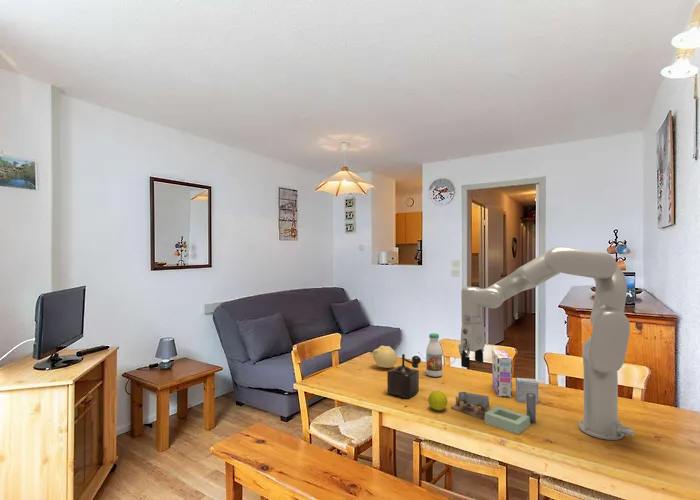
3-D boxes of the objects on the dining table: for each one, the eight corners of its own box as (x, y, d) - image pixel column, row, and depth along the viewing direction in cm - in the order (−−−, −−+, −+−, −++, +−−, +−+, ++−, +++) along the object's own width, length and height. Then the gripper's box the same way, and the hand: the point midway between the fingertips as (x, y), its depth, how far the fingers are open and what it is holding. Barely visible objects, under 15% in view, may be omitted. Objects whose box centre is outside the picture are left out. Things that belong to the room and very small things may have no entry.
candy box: (512, 397, 157) (512, 358, 157) (497, 396, 159) (497, 357, 158) (505, 386, 171) (505, 349, 171) (492, 385, 172) (491, 349, 172)
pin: (537, 422, 135) (537, 394, 135) (533, 425, 133) (533, 396, 133) (528, 419, 137) (528, 392, 137) (525, 422, 135) (524, 394, 135)
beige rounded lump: (385, 361, 209) (385, 342, 209) (401, 367, 199) (401, 346, 199) (369, 365, 202) (369, 345, 202) (385, 371, 192) (385, 350, 192)
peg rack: (494, 414, 142) (494, 404, 142) (484, 420, 137) (484, 410, 137) (460, 403, 152) (460, 394, 152) (451, 408, 147) (451, 399, 147)
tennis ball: (438, 415, 142) (438, 396, 142) (424, 408, 147) (424, 390, 147) (451, 410, 146) (450, 392, 146) (436, 404, 151) (436, 386, 151)
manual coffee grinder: (385, 393, 163) (385, 351, 163) (398, 386, 172) (398, 346, 172) (418, 402, 153) (418, 358, 153) (430, 394, 162) (430, 352, 162)
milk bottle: (423, 372, 190) (423, 332, 190) (437, 371, 192) (436, 331, 192) (431, 377, 182) (431, 336, 182) (445, 376, 185) (445, 335, 185)
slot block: (529, 426, 132) (529, 416, 132) (518, 435, 126) (518, 424, 126) (496, 415, 141) (496, 406, 141) (484, 423, 135) (484, 413, 135)
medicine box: (536, 400, 155) (536, 379, 155) (538, 404, 151) (538, 382, 151) (515, 398, 157) (515, 377, 157) (517, 402, 153) (517, 381, 153)
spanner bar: (490, 405, 141) (489, 395, 141) (485, 408, 138) (484, 398, 139) (462, 400, 149) (461, 391, 150) (457, 402, 147) (456, 393, 147)
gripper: (468, 323, 136) (469, 371, 136) (492, 317, 147) (492, 361, 147) (450, 321, 141) (451, 367, 141) (474, 315, 153) (475, 357, 153)
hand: (472, 364), depth 144 cm, fingers open, 9 cm apart
